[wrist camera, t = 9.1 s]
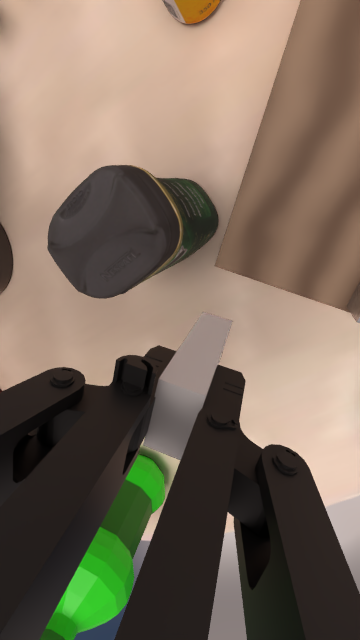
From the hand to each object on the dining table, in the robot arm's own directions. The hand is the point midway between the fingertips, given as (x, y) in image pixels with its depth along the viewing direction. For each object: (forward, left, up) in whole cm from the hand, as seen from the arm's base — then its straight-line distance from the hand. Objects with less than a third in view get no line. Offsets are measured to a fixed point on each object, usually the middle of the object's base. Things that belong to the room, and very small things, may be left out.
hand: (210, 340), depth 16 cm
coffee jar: (-10, +2, -23) cm, 25 cm away
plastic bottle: (-5, -37, -23) cm, 44 cm away
